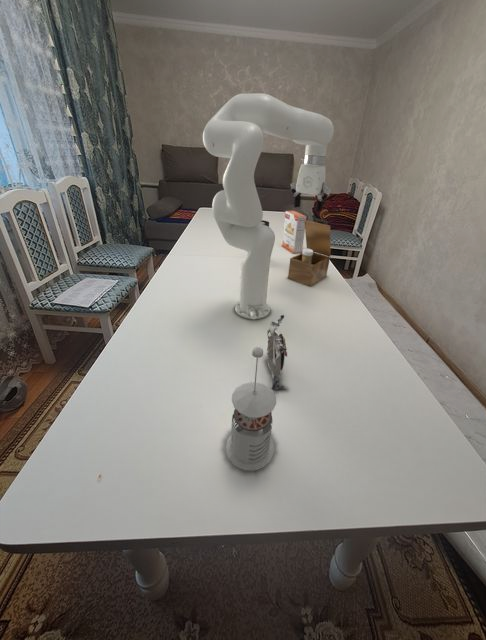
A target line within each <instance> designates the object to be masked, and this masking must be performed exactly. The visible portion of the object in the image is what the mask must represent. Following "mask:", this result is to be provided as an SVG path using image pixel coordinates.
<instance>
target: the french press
mask: <svg viewBox="0 0 486 640" xmlns="http://www.w3.org/2000/svg"><path fill="white" fill-rule="evenodd" d="M251 356H252V357H253V358H256V361H255V374H254V375H255V376H254V382H253V381H251V382H246V383H242V384H241V385H239V386H237V387H236V388H235V389H234V391H232V394H231V403H232V405H233V408H234V410H233V414H232V416H231V428H230V429H231V433H230V436H229V437H228V439H227V441H226V445H225V446H226V447H225V451H226V452H225V453H226V456H227V458H228V460H229V462H231V463H232V464H233V465H234V467H236V468H239V469H241V470H243V471H257V470H259V469H263V468H264V467H266V466H267V465H268V464H269V463H270V462H272V461H271V460H272V459H273V456H274V454H275V443H274V441H273V439H272V437H271V436H272V429H273V425H272V424H273V421H274V420H273V415H272V412H273V411H274V410H275V407H276V405H277V396H276V393H275V390H273V389H272V388H270V387H269V386H268V385H266V384H263V383H261V382H257V375H258V364H259V363H258V362H259V359H260V358H263V356H264V350H263V348H261V347H254V348H253V349H252V353H251Z"/></svg>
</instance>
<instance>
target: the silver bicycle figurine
mask: <svg viewBox="0 0 486 640" xmlns="http://www.w3.org/2000/svg"><path fill="white" fill-rule="evenodd" d="M284 318H285V315H284V314H280V317H279V319H277V322H275V321H273V320H272V321H271V322H270V327H269V329H268V330H267V334H266V335H267V339H268V340H267V349H266V351H267V353H266V354H267V357H268V358H269V360H266V363H267V367H268V368H269V371H270V374H271V378H272V380H273V381H272V388H271V389H272V390H273V391H286V390H287V389H286V388H285V386H284V385H282V384H279V383H280V380H278V377H277V376H280V375H281V371H282V370H283V368H284V365H285V358H286V357H288V352H287V349H288V348H287V343H286V339H285V336H284V334H283V333H279V334H278V333H277V332H276V330H278V328H279V327H280V324H281V323H282V322H283V319H284ZM269 334H270V335H269Z"/></svg>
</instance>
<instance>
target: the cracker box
mask: <svg viewBox="0 0 486 640" xmlns="http://www.w3.org/2000/svg"><path fill="white" fill-rule="evenodd" d="M284 213H285V214H284V222H283V223H284V224H283V233H282V234H283V235H282V244H281V245H282V246H281V247H283V248H285V249H286V250H288V251H289V252H291V253H292V254H301V253H303V246H304V240H305V234H306V233H305V220H307V218H308V217H307V215H304V214H302V213H300V212H299V211H296V210H285V212H284Z"/></svg>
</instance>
